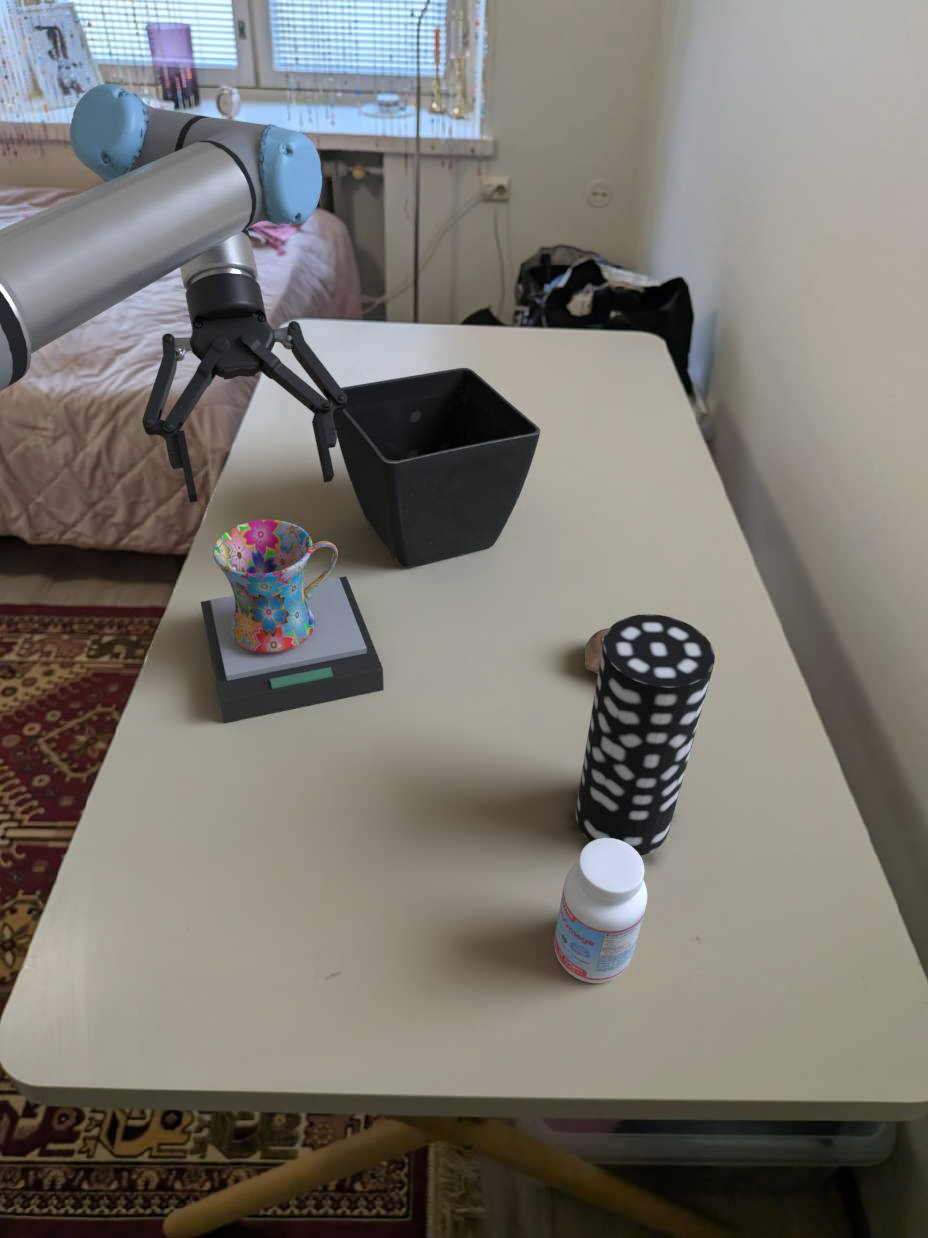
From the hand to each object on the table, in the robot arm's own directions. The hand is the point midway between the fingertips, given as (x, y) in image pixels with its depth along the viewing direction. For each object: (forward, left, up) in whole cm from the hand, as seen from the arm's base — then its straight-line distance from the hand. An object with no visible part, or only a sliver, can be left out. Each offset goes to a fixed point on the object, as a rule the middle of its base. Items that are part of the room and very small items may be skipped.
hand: (262, 488), depth 93 cm
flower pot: (+21, +11, -16) cm, 29 cm away
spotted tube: (+24, -37, -16) cm, 47 cm away
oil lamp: (+32, -20, -16) cm, 41 cm away
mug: (0, -7, -12) cm, 14 cm away
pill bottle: (+16, -48, -16) cm, 54 cm away
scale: (0, -7, -16) cm, 18 cm away
